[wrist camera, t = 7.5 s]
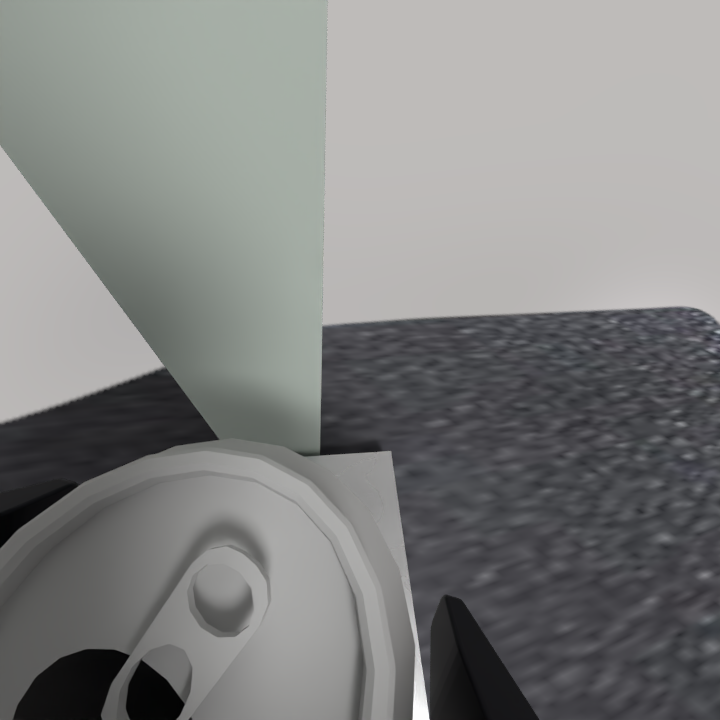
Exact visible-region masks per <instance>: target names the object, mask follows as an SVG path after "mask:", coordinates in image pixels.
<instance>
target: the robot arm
mask: <svg viewBox="0 0 720 720" xmlns="http://www.w3.org/2000/svg"><path fill="white" fill-rule="evenodd" d="M77 487H78V484H77V483H76V482H73V481H69V480H66V479H55V480H51V481H47V482H43V483H39V484H35V485H30V486H26V487H22V488H18V489H14V490H10V491H6V492H2V493H0V548H1V547H2V546H3V545H4V544H5V543H6V542H7V541H8V540H9V539H10V538H11V536H12V535H13V534H14V533H15V532H16V531H17V530H18V529H20V528H21V527H22V526H24V525H25V524H27V523H28V522H29V521H31V520H32V519H34V518H35V517H36V516H38V515H39V514H40V513H42V512H43V511H45V510H46V509H47V508H49V507H50V506H52V505H53V504H54V503H56V502H57V501H59V500H60V499H61V498H63V497H64V496H66V495H67V494H68V493H70V492H71V491H73V490H74V489H75V488H77ZM430 720H539V718H538V717H537V715H536V714H535V712H534V711H533V709H532V708H531V706H530V704H529V703H528V701H527V700H526V698H525V697H524V695H523V694H522V692H521V691H520V689H519V687H518V686H517V684H516V683H515V681H514V680H513V678H512V677H511V675H510V673H509V672H508V670H507V669H506V667H505V666H504V664H503V663H502V661H501V660H500V658H499V656H498V655H497V653H496V652H495V650H494V649H493V647H492V646H491V644H490V643H489V641H488V639H487V638H486V636H485V635H484V633H483V632H482V630H481V629H480V627H479V626H478V624H477V622H476V621H475V619H474V618H473V616H472V615H471V613H470V612H469V610H468V609H467V607H466V605H465V604H464V602H463V601H462V600H461V599H459V598H456V597H452V596H449V595H443V596H442V598H441V600H440V603H439V605H438V608H437V610H436V613H435V616H434V618H433V621H432V625H431V637H430Z"/></svg>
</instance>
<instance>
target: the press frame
mask: <svg viewBox="0 0 720 720" xmlns="http://www.w3.org/2000/svg"><path fill="white" fill-rule="evenodd" d="M327 4H328V0H0V145H1V147H2V148H3V149H4V151H5V152H6V153H7V155H8V156H9V157H10V159H11V160H12V162H13V163H14V164H15V166H16V167H17V168H18V170H19V171H20V172H21V173H22V175H23V176H24V178H25V179H26V180H27V182H28V183H29V184H30V186H31V187H32V188H33V190H34V191H35V192H36V194H37V195H38V196H39V198H40V199H41V200H42V202H43V203H44V205H45V206H46V207H47V208H48V210H49V211H50V213H51V214H52V215H53V217H54V218H55V219H56V221H57V222H58V223H59V225H60V226H61V227H62V229H63V230H64V231H65V233H66V234H67V235H68V237H69V238H70V239H71V241H72V242H73V243H74V245H75V246H76V247H77V249H78V250H79V251H80V253H81V254H82V256H83V257H84V258H85V259H86V261H87V262H88V264H89V265H90V266H91V267H92V269H93V270H94V272H95V273H96V274H97V276H98V277H99V278H100V280H101V281H102V282H103V284H104V285H105V286H106V288H107V289H108V290H109V292H110V293H111V295H112V296H113V297H114V299H115V300H116V301H117V303H118V304H119V305H120V307H121V308H122V309H123V311H124V312H125V313H126V314H127V316H128V317H129V319H130V320H131V321H132V323H133V324H134V325H135V327H136V328H137V329H138V331H139V332H140V333H141V335H142V336H143V337H144V339H145V340H146V342H147V343H148V344H149V346H150V347H151V348H152V350H153V351H154V352H155V354H156V355H157V356H158V358H159V359H160V360H161V362H162V363H163V364H164V366H165V367H166V368H167V370H168V371H169V372H170V374H171V375H172V376H173V378H174V379H175V380H176V382H177V383H178V385H179V386H180V387H181V389H182V390H183V391H184V393H185V394H186V395H187V397H188V398H189V399H190V401H191V402H192V403H193V405H194V406H195V407H196V409H197V410H198V411H199V413H200V414H201V415H202V417H203V418H204V419H205V421H206V422H207V423H208V425H209V426H210V427H211V429H212V430H213V432H214V433H215V434H216V436H217V437H218V438H219V440H222V439H229V438H234V439H240V440H246V441H252V442H259V443H265V444H271V445H277V446H284V447H286V448H288V449H290V450H292V451H294V452H295V453H297V454H299V455H301V456H303V457H308V456H320V424H321V365H322V305H323V303H322V302H323V242H324V184H325V124H326V123H325V121H326V66H327V63H326V62H327V61H326V60H327V6H328V5H327Z"/></svg>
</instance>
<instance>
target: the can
mask: <svg viewBox="0 0 720 720" xmlns="http://www.w3.org/2000/svg"><path fill="white" fill-rule="evenodd" d="M414 671H415V642H414V637H413V632H412V627H411V622H410V617H409V613H408V608H407V603H406V598H405V593H404V588H403V584H402V579H401V574H400V569H399V567H398V566H397V564H396V562H395V560H394V558H393V556H392V554H391V552H390V550H389V548H388V546H387V544H386V542H385V540H384V538H383V536H382V534H381V532H380V530H379V528H378V526H377V524H376V522H375V520H374V518H373V516H372V514H371V512H370V511H369V510H368V509H367V508H366V507H365V506H364V505H363V504H362V503H361V502H360V501H359V500H358V499H357V498H356V496H355V495H354V494H353V493H352V492H351V491H350V490H349V489H348V488H347V487H346V486H345V485H344V484H343V483H342V482H341V481H340V480H339V479H338V478H337V477H336V476H335V475H334V474H333V473H332V472H331V471H330V470H328V469H326V468H324V467H322V466H320V465H318V464H317V463H315V462H313V461H311V460H309V459H307V458H305V457H303V456H301V455H299V454H297V453H295V452H294V451H292V450H290V449H288V448H286V447H284V446H277V445H271V444H265V443H259V442H252V441H246V440H240V439H234V438H229V439H222V440H215V441H208V442H201V443H194V444H186V445H179V446H174V447H172V448H169V449H167V450H165V451H162V452H160V453H158V454H152V455H147V456H145V457H143V458H140V459H138V460H135V461H133V462H131V463H128V464H126V465H124V466H121V467H119V468H116V469H114V470H112V471H109V472H107V473H105V474H102V475H100V476H98V477H95V478H93V479H90V480H88V481H86V482H84V483H82V484H81V485H80V486H78V487H77V488H75V489H74V490H73V491H71V492H70V493H68V494H67V495H66V496H64V497H63V498H61V499H60V500H59V501H57V502H56V503H54V504H53V505H52V506H50V507H49V508H47V509H46V510H45V511H43V512H42V513H40V514H39V515H38V516H36V517H35V518H34V519H32V520H31V521H29V522H28V523H27V524H25V525H24V526H22V527H21V528H20V529H18V530H17V531H16V532H15V533H14V534H13V535H12V536H11V538H10V539H9V540H8V541H7V542H6V543H5V544H4V545H3V546H2V547H1V548H0V720H413V698H414Z"/></svg>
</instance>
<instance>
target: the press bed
mask: <svg viewBox="0 0 720 720" xmlns="http://www.w3.org/2000/svg"><path fill="white" fill-rule="evenodd" d="M305 458H307V459H309V460H311V461H313V462H315V463H317V464H318V465H320V466H322V467H324V468H326V469H328V470H330V471H331V472H332V473H333V474H334V475H335V476H336V477H337V478H338V479H339V480H340V481H341V482H342V483H343V484H344V485H345V486H346V487H347V488H348V489H349V490H350V491H351V492H352V493H353V494H354V495H355V496H356V498H357V499H358V500H359V501H360V502H361V503H362V504H363V505H364V506H365V507H366V508H367V509H368V510H369V511H370V512H371V514H372V516H373V518H374V520H375V522H376V524H377V526H378V528H379V530H380V532H381V534H382V536H383V538H384V540H385V542H386V544H387V546H388V548H389V550H390V552H391V554H392V556H393V558H394V560H395V562H396V564H397V566H398V567H399V569H400V574H401V579H402V584H403V588H404V593H405V598H406V603H407V608H408V613H409V617H410V622H411V627H412V632H413V637H414V642H415V671H414V698H413V720H429V713H428V706H427V699H426V692H425V685H424V678H423V671H422V664H421V657H420V650H419V643H418V636H417V629H416V622H415V616H414V609H413V602H412V595H411V588H410V581H409V574H408V567H407V560H406V553H405V546H404V539H403V532H402V525H401V518H400V511H399V504H398V497H397V490H396V483H395V476H394V469H393V463H392V456H391V451H383V452H368V453H353V454H338V455H323V456H308V457H305Z"/></svg>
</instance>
